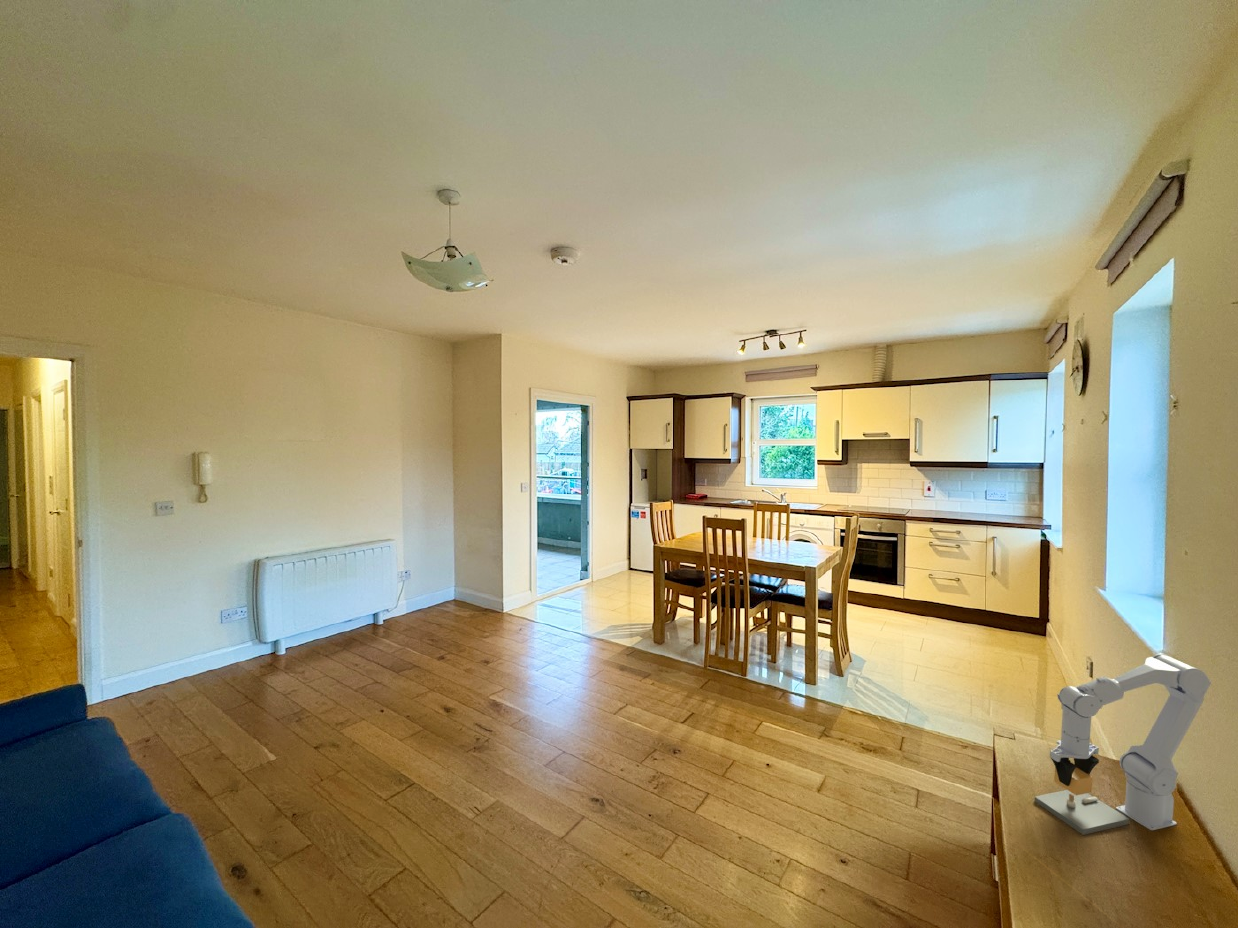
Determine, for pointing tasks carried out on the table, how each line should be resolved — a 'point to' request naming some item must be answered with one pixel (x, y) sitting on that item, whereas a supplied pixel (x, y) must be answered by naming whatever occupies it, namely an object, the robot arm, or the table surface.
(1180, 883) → the table surface
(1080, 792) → the light wooden brick
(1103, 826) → the flat gray rectangular board
